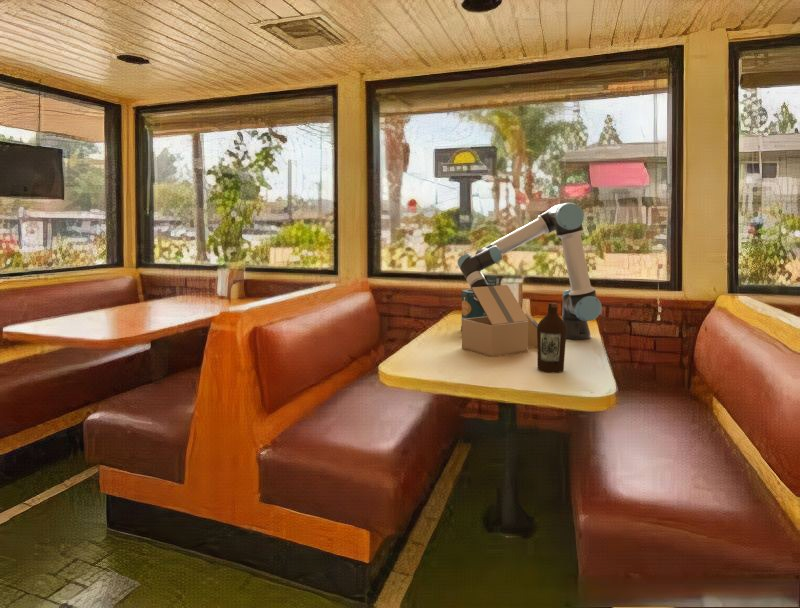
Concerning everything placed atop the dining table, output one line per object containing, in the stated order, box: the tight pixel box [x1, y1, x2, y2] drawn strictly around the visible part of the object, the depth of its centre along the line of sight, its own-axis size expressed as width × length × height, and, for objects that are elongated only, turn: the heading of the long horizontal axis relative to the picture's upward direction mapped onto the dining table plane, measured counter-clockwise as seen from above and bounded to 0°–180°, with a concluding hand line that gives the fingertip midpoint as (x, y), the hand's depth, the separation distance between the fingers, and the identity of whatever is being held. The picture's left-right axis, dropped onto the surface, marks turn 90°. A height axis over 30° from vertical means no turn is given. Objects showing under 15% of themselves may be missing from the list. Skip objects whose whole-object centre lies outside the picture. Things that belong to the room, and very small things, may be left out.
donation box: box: [460, 275, 502, 332], centre depth 282 cm, size 16×16×28 cm
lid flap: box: [472, 284, 528, 325], centre depth 235 cm, size 20×20×1 cm
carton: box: [461, 316, 529, 357], centre depth 240 cm, size 20×20×13 cm
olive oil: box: [536, 302, 567, 373], centre depth 205 cm, size 11×11×25 cm
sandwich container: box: [524, 311, 539, 348], centre depth 248 cm, size 9×15×15 cm, turn 73°
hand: (502, 326), depth 235 cm, fingers closed
